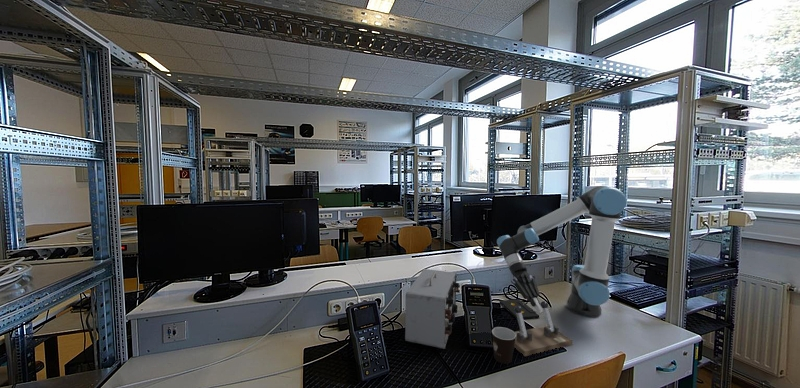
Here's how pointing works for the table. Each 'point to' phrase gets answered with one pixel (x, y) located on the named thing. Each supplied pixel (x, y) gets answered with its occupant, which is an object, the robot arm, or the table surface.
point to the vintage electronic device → (431, 308)
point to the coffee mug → (503, 344)
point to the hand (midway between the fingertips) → (540, 313)
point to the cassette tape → (526, 310)
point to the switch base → (540, 340)
